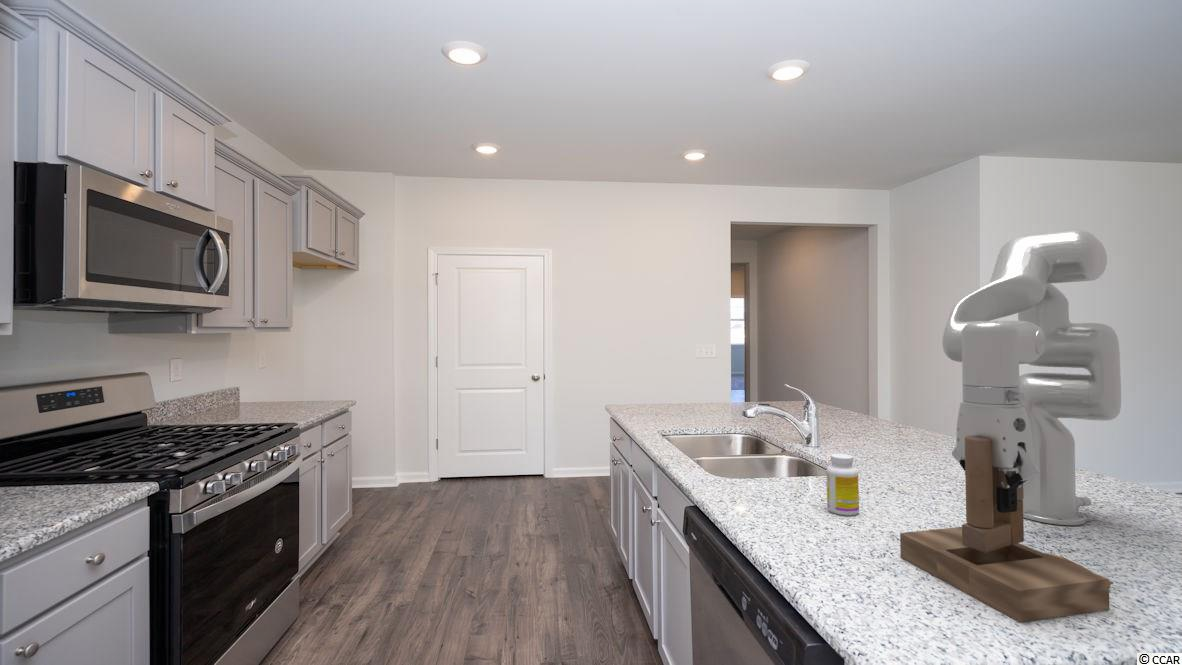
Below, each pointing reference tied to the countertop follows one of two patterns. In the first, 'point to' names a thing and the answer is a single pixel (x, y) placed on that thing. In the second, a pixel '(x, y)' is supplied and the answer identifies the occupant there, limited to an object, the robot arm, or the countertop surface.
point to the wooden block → (987, 502)
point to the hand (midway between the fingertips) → (992, 505)
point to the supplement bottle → (842, 486)
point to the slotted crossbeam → (1007, 576)
